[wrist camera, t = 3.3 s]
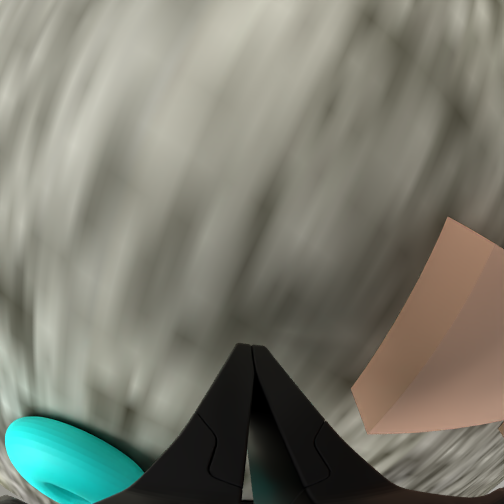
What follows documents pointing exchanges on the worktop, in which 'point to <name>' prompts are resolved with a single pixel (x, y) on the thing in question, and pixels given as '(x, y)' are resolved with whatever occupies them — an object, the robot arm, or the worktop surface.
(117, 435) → the worktop surface
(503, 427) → the shelf
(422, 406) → the tile
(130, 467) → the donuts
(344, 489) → the robot arm
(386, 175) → the worktop surface
